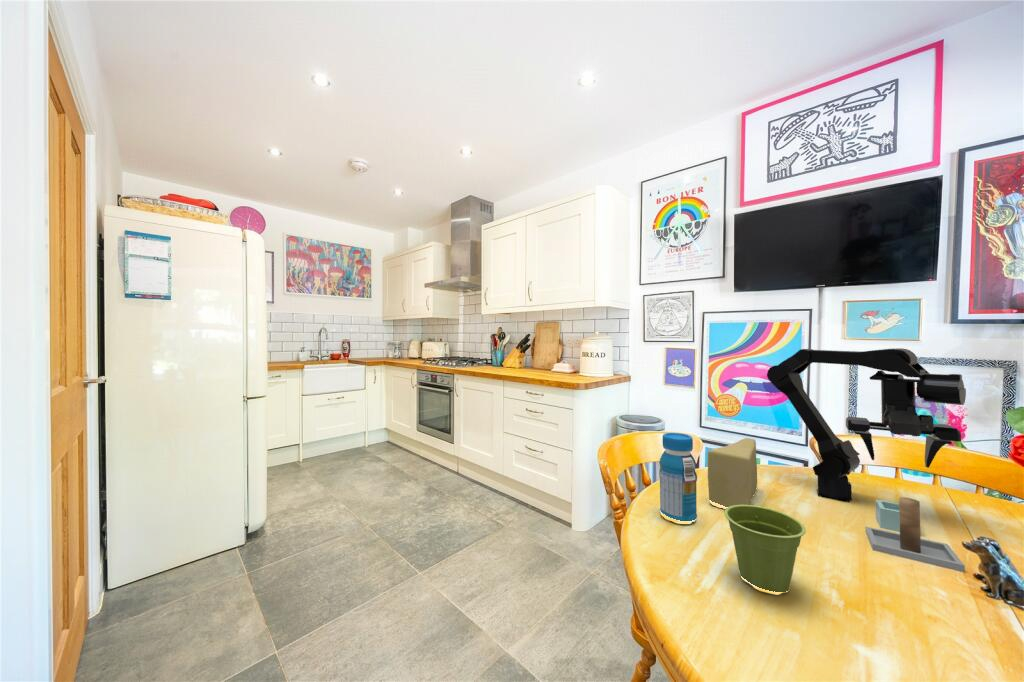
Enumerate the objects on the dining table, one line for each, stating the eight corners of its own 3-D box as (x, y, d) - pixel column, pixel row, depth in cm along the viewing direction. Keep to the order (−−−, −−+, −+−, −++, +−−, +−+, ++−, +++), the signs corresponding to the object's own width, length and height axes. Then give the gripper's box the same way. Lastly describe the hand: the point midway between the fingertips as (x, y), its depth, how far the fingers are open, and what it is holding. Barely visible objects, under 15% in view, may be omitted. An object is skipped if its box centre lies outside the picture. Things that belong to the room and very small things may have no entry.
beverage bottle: (659, 522, 87) (658, 438, 87) (659, 507, 94) (658, 430, 95) (699, 529, 83) (698, 441, 84) (695, 513, 91) (695, 433, 91)
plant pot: (712, 562, 71) (711, 504, 71) (774, 563, 70) (774, 504, 70) (750, 606, 59) (749, 535, 59) (825, 607, 58) (824, 537, 58)
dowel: (902, 550, 73) (900, 500, 73) (898, 544, 75) (897, 496, 76) (922, 555, 72) (921, 504, 72) (918, 549, 74) (917, 499, 74)
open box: (880, 530, 82) (880, 508, 82) (875, 520, 87) (875, 499, 87) (919, 538, 79) (919, 515, 79) (912, 527, 84) (912, 505, 84)
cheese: (734, 483, 111) (734, 434, 111) (773, 493, 104) (772, 440, 104) (706, 505, 96) (706, 448, 96) (749, 518, 89) (748, 456, 89)
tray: (872, 552, 74) (872, 543, 74) (865, 534, 81) (865, 526, 81) (965, 575, 66) (964, 565, 66) (947, 553, 73) (947, 544, 73)
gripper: (850, 400, 89) (851, 464, 88) (970, 407, 77) (971, 481, 77) (845, 395, 97) (846, 453, 97) (951, 401, 86) (953, 467, 86)
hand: (899, 463), depth 89 cm, fingers open, 9 cm apart
